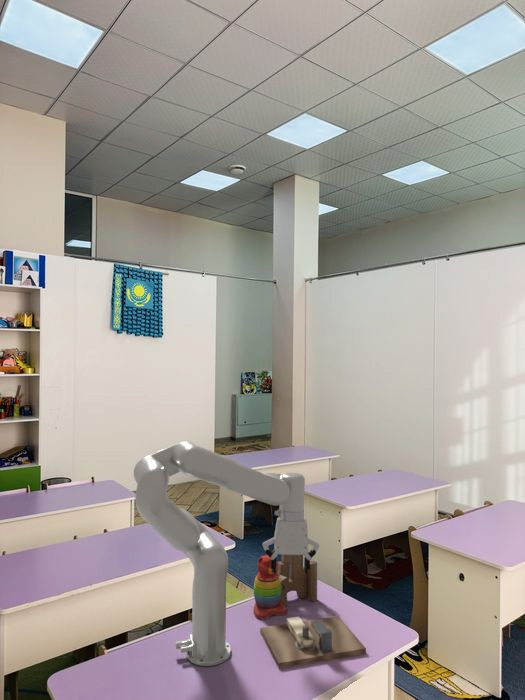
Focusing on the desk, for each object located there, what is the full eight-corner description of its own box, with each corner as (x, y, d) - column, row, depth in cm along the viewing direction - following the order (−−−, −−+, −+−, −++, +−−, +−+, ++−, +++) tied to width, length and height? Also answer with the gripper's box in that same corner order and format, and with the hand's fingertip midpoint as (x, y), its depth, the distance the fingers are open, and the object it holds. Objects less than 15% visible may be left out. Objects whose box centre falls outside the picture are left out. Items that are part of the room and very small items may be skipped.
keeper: (322, 653, 138) (322, 633, 138) (310, 637, 146) (310, 618, 146) (331, 651, 139) (332, 631, 139) (320, 635, 147) (320, 616, 147)
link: (316, 646, 140) (317, 630, 140) (300, 649, 139) (300, 633, 139) (300, 622, 153) (300, 608, 153) (285, 625, 152) (285, 610, 152)
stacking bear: (258, 620, 158) (258, 564, 159) (247, 606, 168) (247, 553, 168) (289, 614, 162) (288, 559, 163) (276, 600, 172) (276, 548, 172)
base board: (278, 668, 134) (278, 662, 134) (260, 632, 151) (260, 626, 151) (365, 653, 141) (365, 647, 141) (338, 620, 158) (338, 615, 158)
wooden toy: (277, 608, 166) (278, 533, 167) (270, 599, 172) (270, 527, 173) (318, 600, 172) (319, 528, 172) (310, 592, 178) (310, 522, 179)
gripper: (263, 518, 147) (262, 576, 146) (321, 519, 147) (320, 577, 147) (262, 510, 154) (261, 566, 154) (317, 511, 155) (316, 567, 154)
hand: (290, 571), depth 150 cm, fingers open, 9 cm apart
